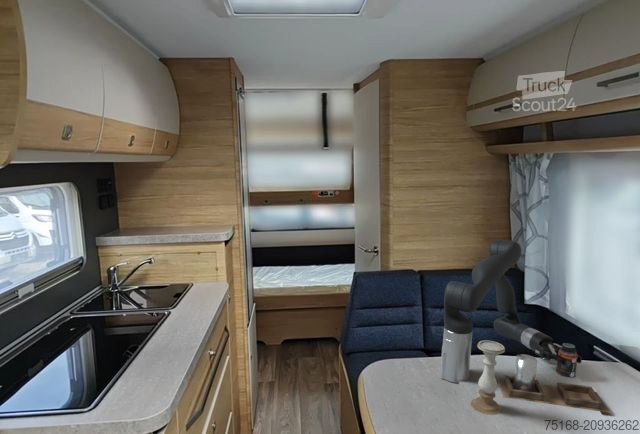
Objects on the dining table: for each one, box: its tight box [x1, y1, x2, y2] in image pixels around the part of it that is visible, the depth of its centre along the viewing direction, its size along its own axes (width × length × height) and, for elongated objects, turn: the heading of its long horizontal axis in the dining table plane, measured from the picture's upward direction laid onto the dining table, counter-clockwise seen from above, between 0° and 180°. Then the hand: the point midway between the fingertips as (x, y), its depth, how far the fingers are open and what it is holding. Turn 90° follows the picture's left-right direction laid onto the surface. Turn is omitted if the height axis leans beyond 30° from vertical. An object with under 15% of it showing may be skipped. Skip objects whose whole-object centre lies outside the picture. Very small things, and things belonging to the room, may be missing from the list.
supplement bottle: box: [555, 342, 579, 379], centre depth 154 cm, size 6×6×11 cm
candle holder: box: [470, 340, 506, 416], centre depth 131 cm, size 9×9×20 cm
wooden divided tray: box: [497, 374, 612, 416], centre depth 140 cm, size 30×12×3 cm, turn 76°
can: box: [513, 353, 538, 392], centre depth 141 cm, size 6×6×11 cm
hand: (573, 361), depth 152 cm, fingers closed on supplement bottle, 6 cm apart
